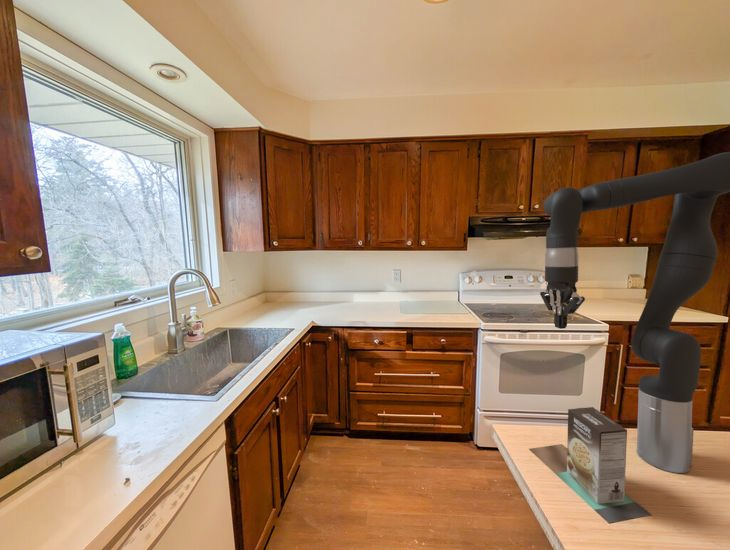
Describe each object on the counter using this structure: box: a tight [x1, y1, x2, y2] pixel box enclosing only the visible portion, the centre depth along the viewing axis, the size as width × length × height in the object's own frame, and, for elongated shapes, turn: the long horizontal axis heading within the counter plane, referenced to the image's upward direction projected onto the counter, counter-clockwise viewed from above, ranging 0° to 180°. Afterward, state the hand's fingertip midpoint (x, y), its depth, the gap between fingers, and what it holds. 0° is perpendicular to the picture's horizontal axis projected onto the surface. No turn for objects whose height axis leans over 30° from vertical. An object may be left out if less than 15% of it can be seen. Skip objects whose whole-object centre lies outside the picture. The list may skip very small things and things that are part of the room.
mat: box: [528, 443, 653, 524], centre depth 68 cm, size 10×22×1 cm, turn 9°
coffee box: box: [566, 406, 628, 504], centre depth 64 cm, size 9×6×16 cm
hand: (560, 327), depth 79 cm, fingers closed
